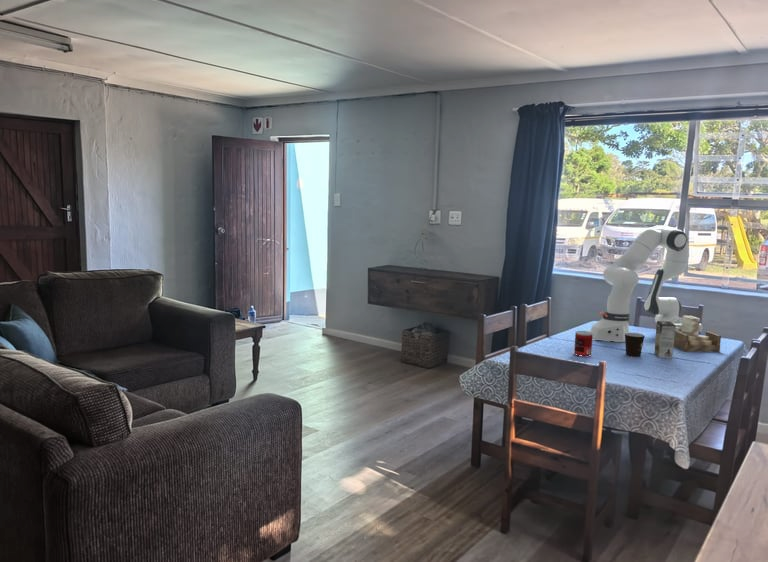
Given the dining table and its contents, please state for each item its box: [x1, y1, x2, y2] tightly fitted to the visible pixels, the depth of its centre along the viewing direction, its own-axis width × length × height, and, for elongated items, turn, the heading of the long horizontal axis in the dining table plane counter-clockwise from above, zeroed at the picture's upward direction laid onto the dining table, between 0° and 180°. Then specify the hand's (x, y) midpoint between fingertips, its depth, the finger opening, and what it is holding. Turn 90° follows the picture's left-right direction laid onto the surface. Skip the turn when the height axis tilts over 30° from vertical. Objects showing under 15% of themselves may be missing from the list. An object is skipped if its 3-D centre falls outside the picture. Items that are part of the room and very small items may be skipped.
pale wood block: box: [681, 315, 701, 336], centre depth 295 cm, size 4×8×15 cm, turn 0°
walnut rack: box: [674, 331, 722, 352], centre depth 288 cm, size 18×10×8 cm, turn 90°
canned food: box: [573, 330, 593, 356], centre depth 272 cm, size 8×8×11 cm
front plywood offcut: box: [688, 340, 712, 345], centre depth 286 cm, size 11×2×5 cm, turn 90°
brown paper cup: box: [624, 332, 645, 358], centre depth 274 cm, size 12×9×10 cm
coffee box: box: [654, 321, 675, 359], centre depth 273 cm, size 9×6×16 cm
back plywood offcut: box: [688, 335, 709, 340], centre depth 289 cm, size 11×2×6 cm, turn 90°
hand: (688, 329), depth 296 cm, fingers open, 8 cm apart
